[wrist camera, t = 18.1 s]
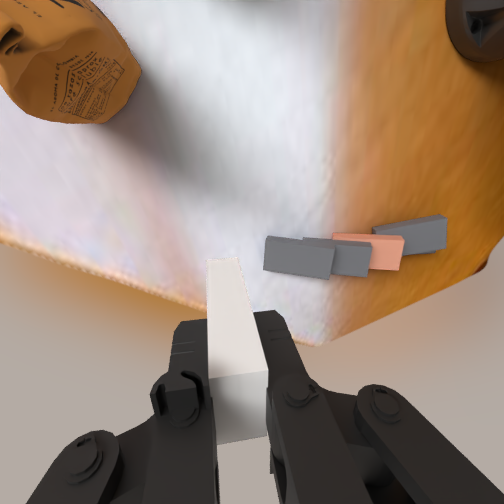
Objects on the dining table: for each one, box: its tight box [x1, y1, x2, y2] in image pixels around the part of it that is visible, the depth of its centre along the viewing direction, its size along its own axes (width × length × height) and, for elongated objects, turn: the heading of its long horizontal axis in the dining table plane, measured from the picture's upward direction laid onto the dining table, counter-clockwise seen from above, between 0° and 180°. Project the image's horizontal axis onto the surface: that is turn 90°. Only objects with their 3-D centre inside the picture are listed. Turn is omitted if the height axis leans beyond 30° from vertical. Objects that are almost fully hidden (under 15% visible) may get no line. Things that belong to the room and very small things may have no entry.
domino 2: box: [303, 238, 373, 277], centre depth 41 cm, size 2×5×10 cm
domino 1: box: [263, 236, 335, 280], centre depth 41 cm, size 2×5×10 cm
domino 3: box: [332, 233, 405, 270], centre depth 42 cm, size 2×5×10 cm
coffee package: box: [0, 0, 141, 124], centre depth 19 cm, size 10×12×22 cm
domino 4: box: [372, 214, 447, 256], centre depth 42 cm, size 2×5×10 cm
